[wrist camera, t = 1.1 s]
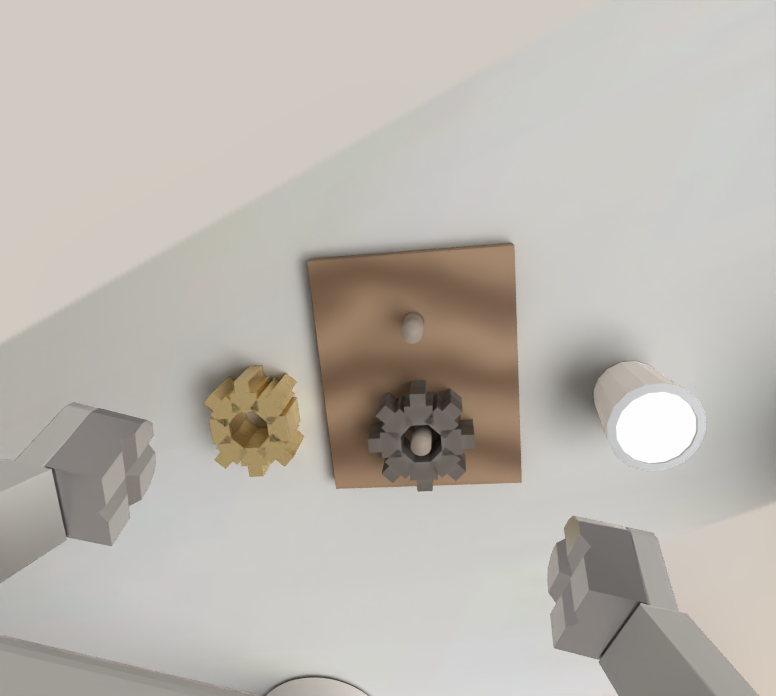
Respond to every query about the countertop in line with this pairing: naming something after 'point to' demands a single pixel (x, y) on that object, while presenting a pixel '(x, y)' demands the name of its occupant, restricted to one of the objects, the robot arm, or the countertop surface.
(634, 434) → the white short cylinder
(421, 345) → the gear board
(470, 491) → the countertop surface
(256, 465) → the brass gear
